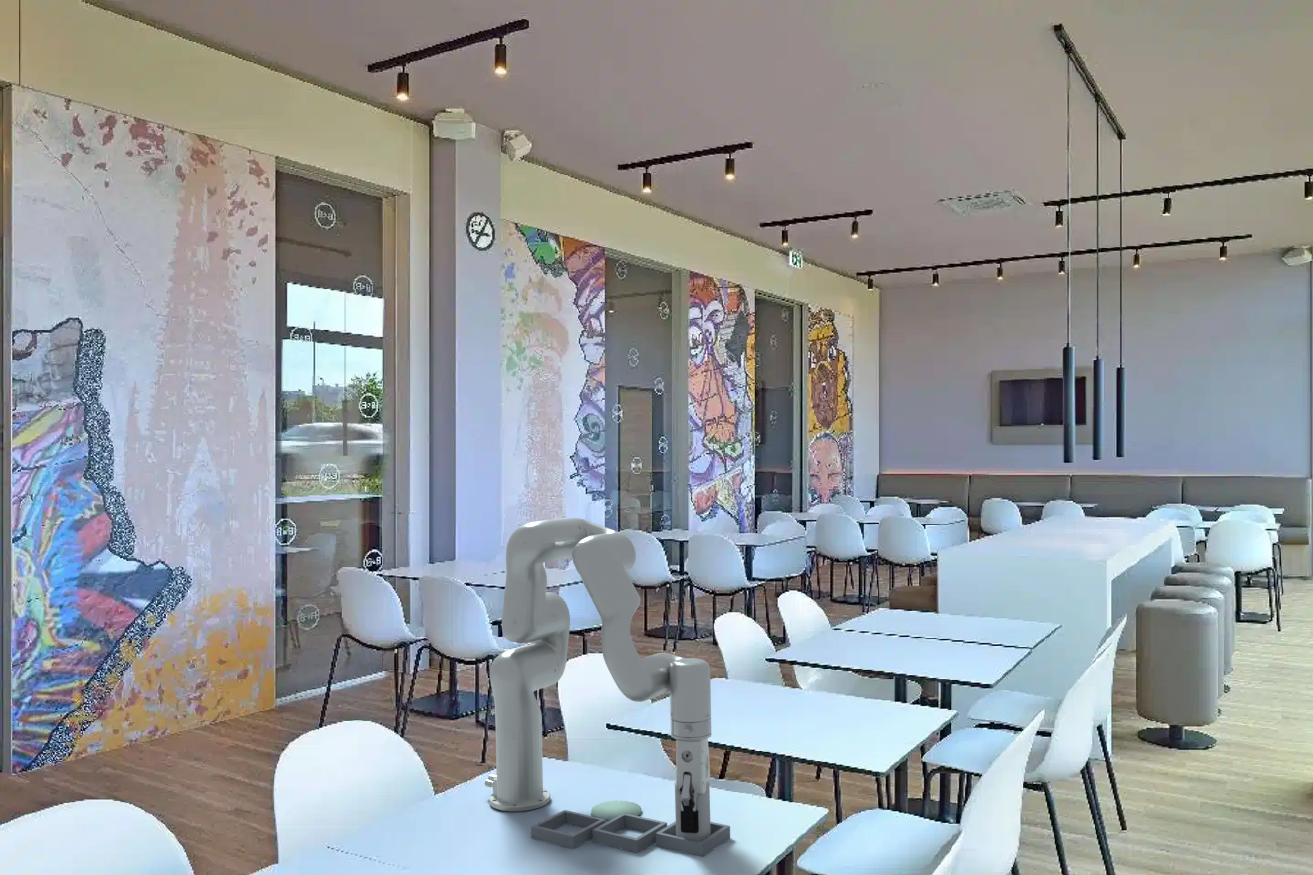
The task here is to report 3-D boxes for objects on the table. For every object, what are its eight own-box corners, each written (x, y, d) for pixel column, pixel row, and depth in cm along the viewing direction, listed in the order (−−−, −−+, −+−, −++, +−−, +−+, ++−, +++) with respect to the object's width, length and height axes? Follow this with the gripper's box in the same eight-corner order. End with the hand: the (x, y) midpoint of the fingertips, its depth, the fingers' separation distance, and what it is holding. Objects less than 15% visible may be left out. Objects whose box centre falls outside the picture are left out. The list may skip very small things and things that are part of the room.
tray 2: (592, 841, 183) (592, 829, 183) (623, 824, 192) (623, 812, 192) (637, 852, 178) (637, 840, 178) (667, 834, 186) (667, 822, 186)
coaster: (581, 815, 197) (581, 812, 197) (610, 800, 205) (610, 797, 205) (622, 825, 191) (622, 821, 191) (651, 809, 200) (650, 806, 200)
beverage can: (708, 849, 179) (706, 782, 179) (673, 847, 180) (671, 780, 180) (713, 835, 185) (711, 771, 185) (679, 833, 186) (678, 769, 187)
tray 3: (655, 845, 181) (655, 833, 181) (684, 827, 190) (684, 815, 190) (702, 856, 176) (702, 843, 176) (730, 837, 184) (730, 825, 184)
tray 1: (531, 838, 186) (531, 826, 186) (564, 821, 194) (564, 809, 194) (573, 848, 180) (573, 836, 180) (605, 830, 189) (605, 819, 189)
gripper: (704, 741, 174) (706, 844, 173) (717, 715, 191) (719, 809, 190) (662, 739, 175) (664, 841, 175) (679, 714, 192) (681, 807, 192)
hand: (693, 823), depth 183 cm, fingers closed on beverage can, 6 cm apart
